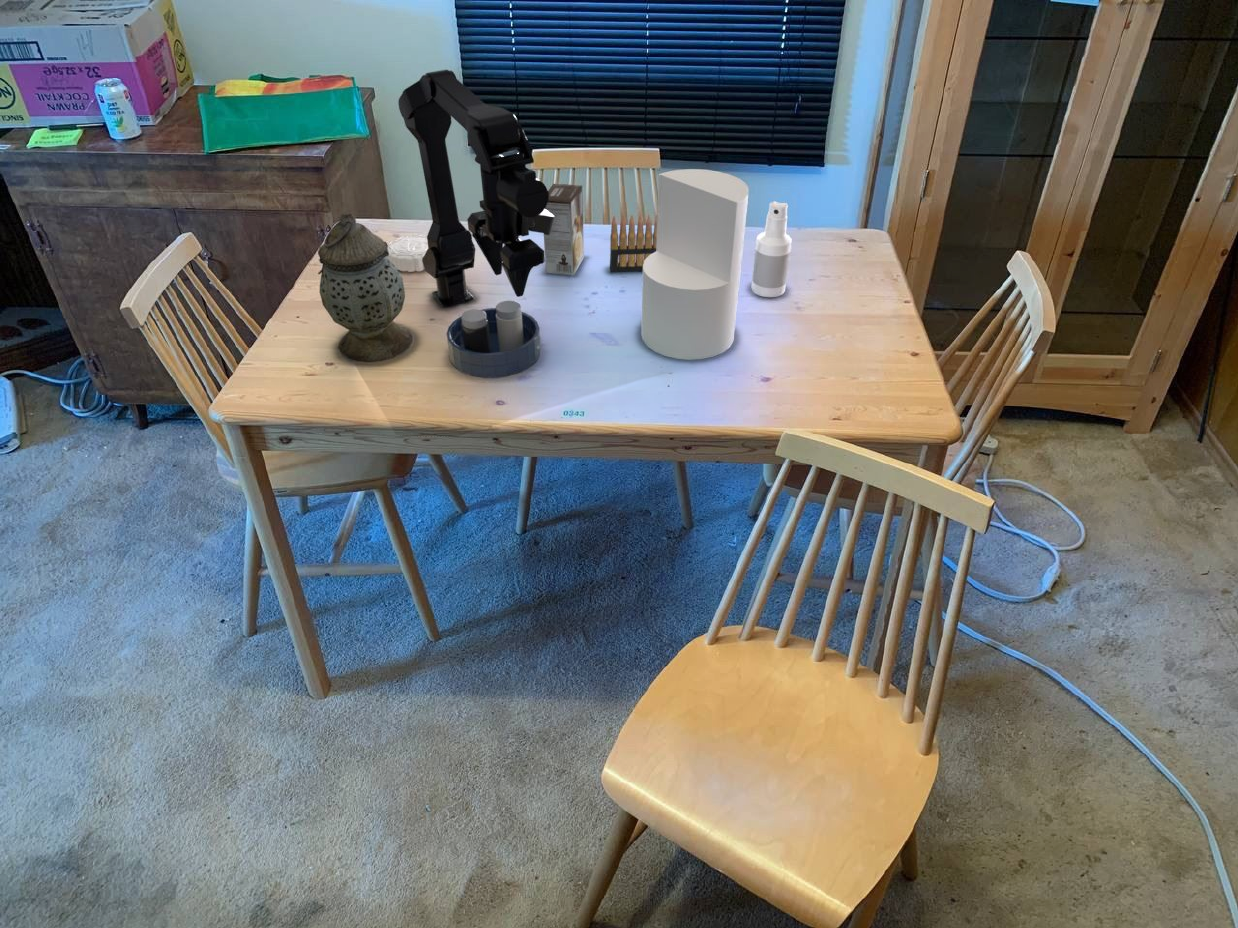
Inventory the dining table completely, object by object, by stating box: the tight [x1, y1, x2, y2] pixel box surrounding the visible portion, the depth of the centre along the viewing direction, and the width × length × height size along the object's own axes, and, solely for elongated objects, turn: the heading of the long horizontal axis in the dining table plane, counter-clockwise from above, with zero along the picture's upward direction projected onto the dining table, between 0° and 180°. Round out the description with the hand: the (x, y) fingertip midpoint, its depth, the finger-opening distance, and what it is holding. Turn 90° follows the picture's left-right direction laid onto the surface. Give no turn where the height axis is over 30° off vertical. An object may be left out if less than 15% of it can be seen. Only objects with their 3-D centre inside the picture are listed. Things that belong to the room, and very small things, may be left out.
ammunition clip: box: [609, 214, 657, 274], centre depth 175 cm, size 11×2×12 cm, turn 94°
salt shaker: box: [495, 300, 524, 352], centre depth 151 cm, size 5×5×8 cm
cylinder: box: [640, 168, 750, 361], centre depth 149 cm, size 17×17×28 cm
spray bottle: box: [750, 200, 793, 298], centre depth 166 cm, size 7×7×18 cm
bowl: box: [446, 307, 542, 378], centre depth 151 cm, size 16×16×5 cm
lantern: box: [317, 211, 415, 363], centre depth 147 cm, size 14×14×25 cm
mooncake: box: [386, 234, 428, 273], centre depth 181 cm, size 12×12×4 cm
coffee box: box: [543, 183, 585, 276], centre depth 176 cm, size 9×6×16 cm
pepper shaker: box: [460, 308, 491, 353], centre depth 149 cm, size 5×5×8 cm
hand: (508, 285), depth 146 cm, fingers open, 9 cm apart
